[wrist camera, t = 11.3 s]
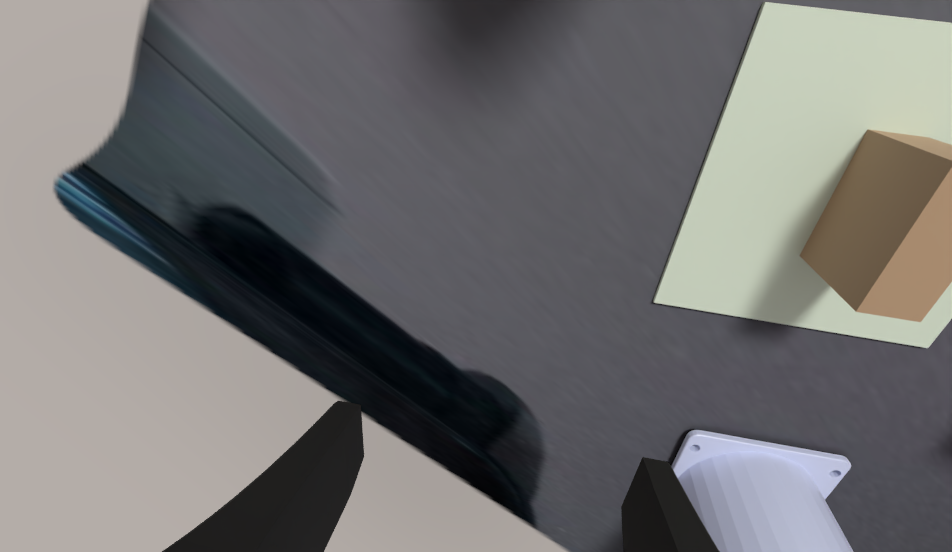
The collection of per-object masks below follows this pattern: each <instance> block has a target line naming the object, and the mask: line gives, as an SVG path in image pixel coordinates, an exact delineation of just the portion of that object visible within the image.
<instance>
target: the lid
mask: <svg viewBox="0 0 952 552" xmlns="http://www.w3.org/2000/svg"><path fill="white" fill-rule="evenodd" d="M653 302H654V303H659V304H665V305H671V306H677V307H683V308H689V309H695V310H701V311H707V312H713V313H719V314H725V315H731V316H737V317H743V318H749V319H755V320H761V321H767V322H773V323H779V324H785V325H791V326H797V327H803V328H809V329H815V330H821V331H827V332H833V333H839V334H845V335H851V336H857V337H863V338H869V339H875V340H881V341H887V342H893V343H899V344H905V345H911V346H917V347H923V348H928V347H929V346H930V345H931V344H932V342H933V341H934V340H935V339H936V337H937V336H938V335H939V334H940V333H941V331H942V330H943V329H944V328H945V326H946V325H947V324H948V323H949V321H950V320H951V319H952V23H947V22H938V21H929V20H921V19H912V18H903V17H894V16H885V15H876V14H867V13H858V12H849V11H840V10H831V9H822V8H813V7H804V6H796V5H787V4H778V3H769V2H763V3H762V6H761V8H760V11H759V14H758V16H757V19H756V22H755V25H754V27H753V30H752V33H751V35H750V38H749V41H748V44H747V46H746V49H745V52H744V54H743V57H742V60H741V63H740V65H739V68H738V71H737V73H736V76H735V79H734V82H733V84H732V87H731V90H730V92H729V95H728V98H727V101H726V103H725V106H724V109H723V111H722V114H721V117H720V120H719V122H718V125H717V128H716V130H715V133H714V136H713V139H712V141H711V144H710V147H709V149H708V152H707V155H706V158H705V160H704V163H703V166H702V168H701V171H700V174H699V177H698V179H697V182H696V185H695V187H694V190H693V193H692V196H691V198H690V201H689V204H688V206H687V209H686V212H685V215H684V217H683V220H682V223H681V225H680V228H679V231H678V234H677V236H676V239H675V242H674V244H673V247H672V250H671V253H670V255H669V258H668V261H667V263H666V266H665V269H664V272H663V274H662V277H661V280H660V282H659V285H658V288H657V291H656V293H655V296H654V299H653Z"/></svg>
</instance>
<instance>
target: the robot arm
mask: <svg viewBox="0 0 952 552" xmlns="http://www.w3.org/2000/svg"><path fill="white" fill-rule="evenodd" d="M363 458H364V449H363V433H362V417H361V405H358V404H353V403H348V402H342V401H337V402H336V403H334V404H333V406H332V407H330V408H329V409H328V411H327V412H326V413H325V414H324V415H323V416H322V417H321V418H320V419H319V420H318V421H317V422H316V423H315V424H314V425H313V426H312V427H311V428H310V429H309V430H308V431H307V432H306V433H305V434H304V435H303V436H302V437H301V438H300V439H299V440H298V441H297V442H296V443H295V444H294V445H292V446H291V447H290V448H289V449H288V450H287V451H286V452H285V453H284V454H283V455H282V456H281V457H280V458H279V459H277V460H276V461H275V462H274V463H273V464H272V465H271V466H270V467H269V468H268V469H267V470H265V471H264V472H263V473H262V474H261V475H260V476H259V477H258V478H256V479H255V480H254V481H253V482H252V483H250V484H249V485H248V486H247V487H246V488H245V489H243V490H242V491H241V492H240V493H239V494H238V495H236V496H235V497H234V498H233V499H232V500H230V501H229V502H228V503H227V504H225V505H224V506H223V507H222V508H221V509H219V510H218V511H217V512H215V513H214V514H213V515H212V516H210V517H209V518H208V519H206V520H205V521H204V522H202V523H201V524H200V525H198V526H197V527H196V528H194V529H193V530H192V531H190V532H189V533H188V534H186V535H185V536H184V537H182V538H181V539H179V540H178V541H176V542H175V543H174V544H172V545H171V546H169V547H168V548H167V549H165V550H164V551H162V552H324V550H325V547H326V546H327V544H328V542H329V540H330V537H331V535H332V533H333V531H334V529H335V527H336V525H337V523H338V521H339V518H340V516H341V514H342V512H343V510H344V508H345V506H346V503H347V501H348V499H349V497H350V495H351V492H352V489H353V487H354V484H355V481H356V478H357V475H358V472H359V469H360V467H361V463H362V461H363ZM850 468H851V463H850V462H849V460H848V459H847V458H846V457H845V456H842V455H836V454H831V453H825V452H820V451H814V450H808V449H803V448H797V447H792V446H786V445H780V444H775V443H769V442H764V441H758V440H752V439H747V438H741V437H736V436H730V435H724V434H719V433H713V432H708V431H702V430H692V431H690V432H688V434H687V435H686V437H685V439H684V441H683V443H682V445H681V447H680V449H679V451H678V453H677V455H676V457H675V460H674V462H673V464H672V466H671V465H670V464H669V463H668V462H665V461H660V460H654V459H649V458H644V457H643V458H642V460H641V462H640V465H639V467H638V469H637V472H636V474H635V476H634V479H633V481H632V483H631V486H630V488H629V490H628V493H627V495H626V497H625V500H624V502H623V504H622V507H621V508H622V532H623V549H624V552H853V550H852V548H851V547H850V545H849V543H848V541H847V539H846V538H845V536H844V534H843V532H842V530H841V528H840V527H839V525H838V523H837V521H836V519H835V518H834V516H833V514H832V512H831V510H830V509H829V507H828V505H827V503H826V501H825V499H826V498H827V496H828V495H829V494H830V493H831V492H832V490H833V489H834V488H835V487H836V485H837V484H838V483H839V482H840V480H841V479H842V478H843V477H844V476H845V474H846V473H847V472H848V471H849V469H850Z"/></svg>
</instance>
